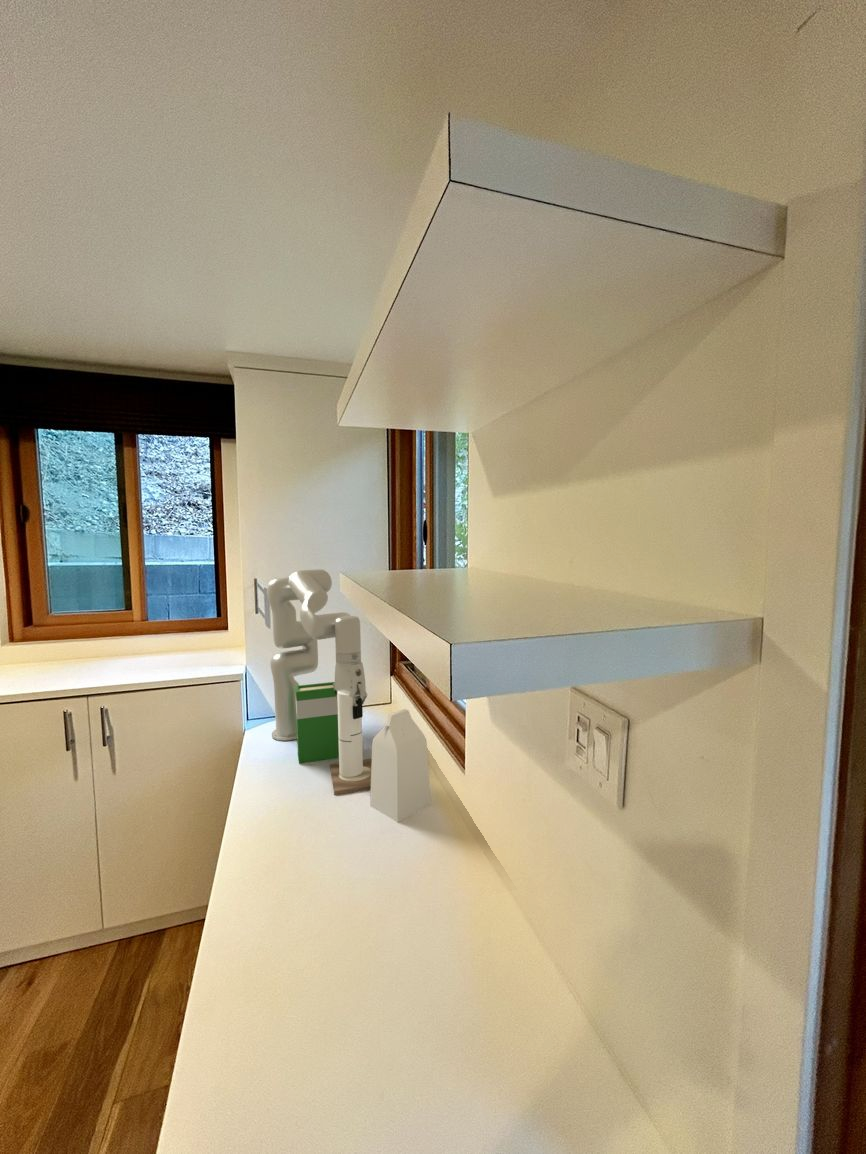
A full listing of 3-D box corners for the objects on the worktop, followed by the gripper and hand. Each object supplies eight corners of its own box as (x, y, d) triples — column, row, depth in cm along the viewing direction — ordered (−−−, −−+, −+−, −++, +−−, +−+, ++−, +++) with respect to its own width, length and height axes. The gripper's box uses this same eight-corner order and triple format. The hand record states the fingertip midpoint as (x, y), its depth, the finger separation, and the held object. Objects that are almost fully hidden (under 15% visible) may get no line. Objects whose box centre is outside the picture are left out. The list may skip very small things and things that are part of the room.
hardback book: (349, 747, 174) (347, 680, 172) (352, 755, 167) (350, 686, 165) (297, 754, 168) (295, 685, 167) (298, 764, 161) (296, 691, 160)
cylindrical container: (365, 773, 150) (364, 692, 148) (342, 778, 147) (340, 696, 145) (359, 764, 156) (357, 686, 154) (337, 768, 153) (334, 689, 151)
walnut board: (330, 767, 158) (330, 763, 158) (373, 761, 162) (373, 757, 162) (334, 794, 141) (334, 790, 141) (382, 787, 145) (382, 783, 145)
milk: (403, 790, 143) (401, 702, 141) (430, 804, 135) (429, 711, 133) (370, 805, 135) (367, 712, 133) (397, 822, 127) (395, 723, 125)
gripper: (376, 659, 145) (377, 718, 147) (342, 650, 158) (343, 705, 159) (355, 664, 140) (357, 725, 141) (321, 655, 152) (323, 711, 153)
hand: (349, 714), depth 150 cm, fingers closed on cylindrical container, 7 cm apart
